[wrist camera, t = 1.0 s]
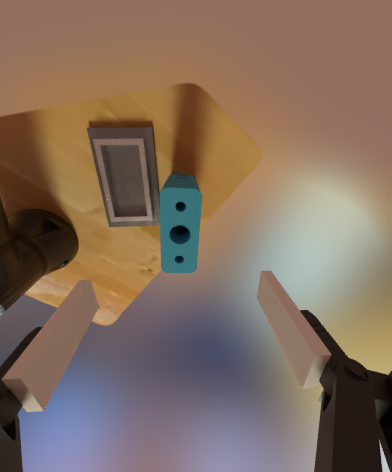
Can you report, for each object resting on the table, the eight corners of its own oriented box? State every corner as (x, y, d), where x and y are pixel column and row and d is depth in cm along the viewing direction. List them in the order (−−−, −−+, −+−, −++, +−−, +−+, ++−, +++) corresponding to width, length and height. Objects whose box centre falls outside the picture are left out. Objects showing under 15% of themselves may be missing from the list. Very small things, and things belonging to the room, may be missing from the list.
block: (170, 170, 39) (159, 187, 21) (193, 171, 40) (202, 189, 22) (170, 222, 44) (161, 272, 26) (191, 223, 45) (196, 273, 27)
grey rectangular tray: (110, 225, 44) (105, 230, 41) (89, 128, 35) (81, 126, 33) (161, 223, 44) (160, 228, 42) (152, 127, 36) (150, 125, 33)
